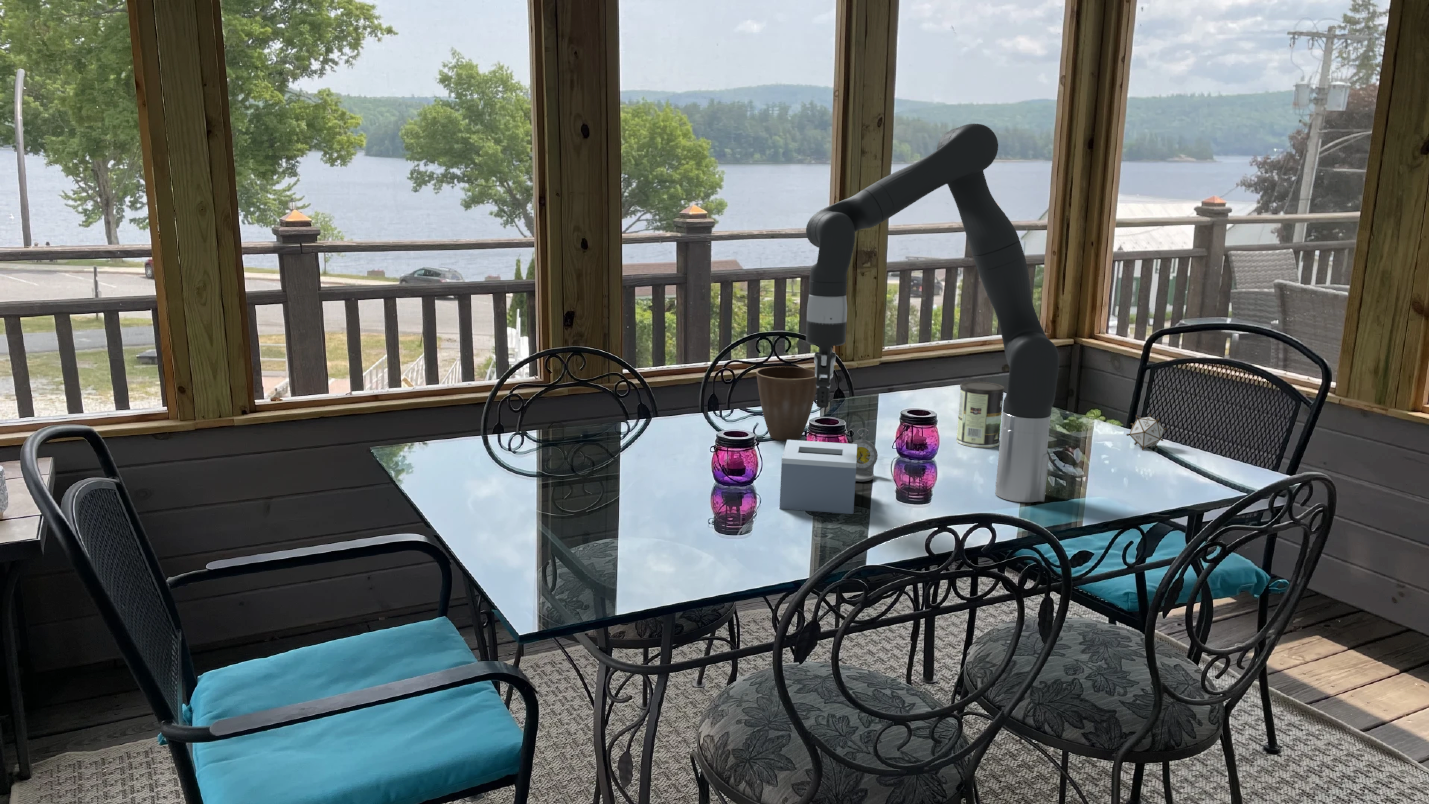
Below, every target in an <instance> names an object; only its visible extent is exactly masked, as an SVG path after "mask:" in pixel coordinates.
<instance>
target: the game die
mask: <svg viewBox="0 0 1429 804" xmlns="http://www.w3.org/2000/svg"><path fill="white" fill-rule="evenodd" d="M1152 416H1153V415H1152V413H1150V414H1149V416H1143V417H1139V415H1135V418H1136V420H1135V421H1134V423H1132V422H1131V423H1130V426H1131V429H1130V432H1129V433H1126V434H1125V436H1127V437H1128V436H1130V437H1131V438H1132V440H1133V441H1134V443H1133V444H1134V445H1135V446H1137V445H1139V446H1140V447H1141V450H1143V451H1144V450H1145V448H1149V447H1155V448H1156V449H1158V445H1157V444H1158V443H1160V441H1161V442H1163V441H1164V439H1163V438H1162V437H1163V434H1164V431H1167V430H1168V428H1167V427H1163V426H1162V424H1161V423H1160V418H1157V419H1155V418H1153V417H1152Z"/></svg>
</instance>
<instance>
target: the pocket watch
mask: <svg viewBox="0 0 1429 804" xmlns="http://www.w3.org/2000/svg"><path fill="white" fill-rule="evenodd" d="M861 430H865V431H867V432H868V433H867V434H866V433H865V432H862V433H861V434H860V431H861ZM870 432H871V431H870V430H868V429H867V428H864V427H863V428H858V430H857V434H858V436H860V438H861V439H856V440H854V441H853V442H852V443H850V444H857V462H856V479H855V482H860V483H861V482H868V481H872V480H873V479H874V477H875V475H874V473H873V472H871V471H868V470H870V469H871V468H873V467H875V464H876V463H877V462H878V461H877V460H878V450H877V448H876V446H875V445H874V444H873V443H872V442H871V441H869V440H867V439H865V438H866V437H868V436H869V435H870Z"/></svg>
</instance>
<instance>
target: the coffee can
mask: <svg viewBox="0 0 1429 804" xmlns="http://www.w3.org/2000/svg"><path fill="white" fill-rule="evenodd" d="M959 386H960V387H959V388H960V392H959V403H958V415H957V417H958V419H957V429H956V430H957V431H956V440H955V441H956V443H957V444H960V445H962V446H965V447H972V448H980V449H982V448H983V449H985V448H986V449H987V448H996V447H998V446H1000V435H1001V426H1002V425H1001V424H1002V413H1003V403H1004V391H1005V386H1004V385H1002V384H999V383H996V382H989V381H976V380H975V381H964V382H961V383H960V384H959Z"/></svg>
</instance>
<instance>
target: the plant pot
mask: <svg viewBox="0 0 1429 804" xmlns="http://www.w3.org/2000/svg"><path fill="white" fill-rule="evenodd" d="M755 374H756V381H757V388H758V394H759V402H760V407H761V411H762V415H763V418H764V422H765V425H766V429H767V431H768V434H769V435H768V436H769V437H770V438H771V439H773V440H776V441H780V442H781V441H782V442H787V440H800V439H801V438H802V436H803V434H804V432H805V430H806V426H807V424H808V421H809V418H810V415H811V413H812V410H813V405H814V403H815V398H816V395H817V386H816V382H817V378H816V377H815V369H814V370H813V369H811V368H806V367H798V366H768V367H762V368H759V369H758V370H757V371H756V373H755Z"/></svg>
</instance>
